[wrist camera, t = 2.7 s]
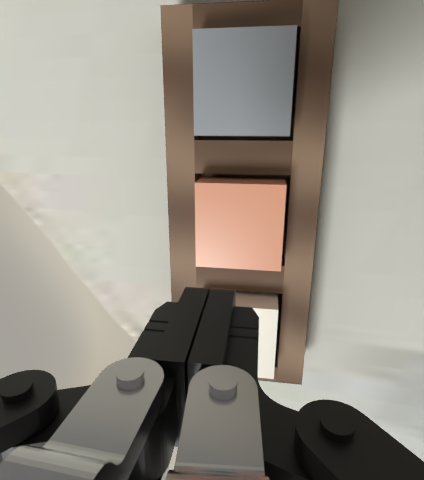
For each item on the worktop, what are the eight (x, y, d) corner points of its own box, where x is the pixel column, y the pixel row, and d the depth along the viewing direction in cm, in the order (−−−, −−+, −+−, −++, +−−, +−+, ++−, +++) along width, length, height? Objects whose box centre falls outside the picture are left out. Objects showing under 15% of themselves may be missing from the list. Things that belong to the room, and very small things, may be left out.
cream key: (273, 358, 25) (273, 379, 23) (202, 351, 26) (197, 371, 24) (277, 293, 23) (278, 309, 21) (202, 288, 24) (196, 304, 22)
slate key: (287, 135, 20) (289, 136, 18) (201, 134, 21) (193, 135, 19) (293, 36, 19) (297, 25, 17) (200, 39, 19) (192, 28, 17)
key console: (298, 357, 27) (301, 384, 25) (183, 347, 29) (174, 371, 26) (328, 14, 20) (338, -3, 17) (174, 20, 22) (160, 5, 19)
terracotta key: (279, 257, 23) (280, 271, 21) (202, 253, 23) (195, 266, 21) (284, 178, 21) (286, 185, 19) (201, 177, 22) (194, 182, 20)
